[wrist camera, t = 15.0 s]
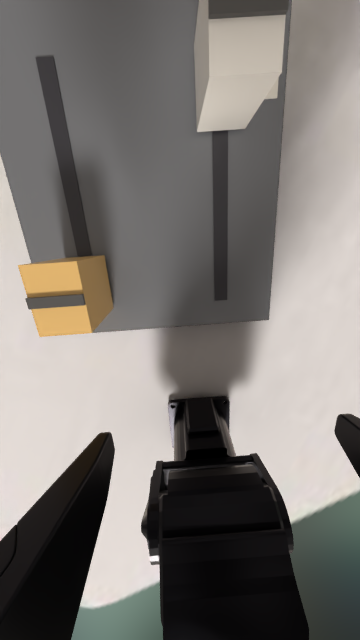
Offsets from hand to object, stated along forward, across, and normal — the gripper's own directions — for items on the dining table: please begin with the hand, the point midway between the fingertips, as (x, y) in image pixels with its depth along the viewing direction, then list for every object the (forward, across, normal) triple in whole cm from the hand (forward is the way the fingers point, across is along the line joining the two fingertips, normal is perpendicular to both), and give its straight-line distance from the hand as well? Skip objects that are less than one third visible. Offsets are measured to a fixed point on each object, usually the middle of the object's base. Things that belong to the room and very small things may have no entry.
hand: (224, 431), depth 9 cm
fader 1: (+10, +8, -5) cm, 14 cm away
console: (+13, +3, -11) cm, 17 cm away
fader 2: (+10, -2, -15) cm, 19 cm away
